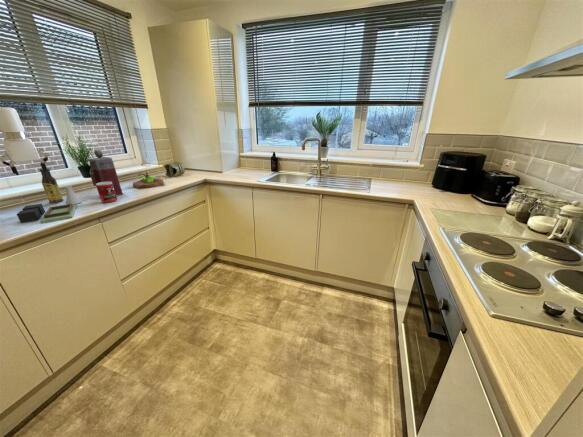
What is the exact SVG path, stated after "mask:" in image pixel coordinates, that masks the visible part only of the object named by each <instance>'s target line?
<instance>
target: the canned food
mask: <svg viewBox="0 0 583 437" xmlns="http://www.w3.org/2000/svg"><path fill="white" fill-rule="evenodd" d="M95 187H96V189H97V192H98V195H99V199H100V201H101V202H102V204H110V203H115V202H117V201H118V197H117V196H116V193H115V190H114V187H113V184H112V182H110V181H107V182H100V183H97V184H96V186H95Z"/></svg>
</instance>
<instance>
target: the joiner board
mask: <svg viewBox="0 0 583 437" xmlns="http://www.w3.org/2000/svg"><path fill="white" fill-rule="evenodd" d="M77 207H78V205H77V204H68V205H67V204H61V205H54V206H50V207H49V208H48V209H47V210H46V211H45V213H44V214H43V217H41V219H40V223H41V224H45V223H51V222H57V221H62V220H69V219H73V217H74V215H75V212H76V211H77Z"/></svg>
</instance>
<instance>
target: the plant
mask: <svg viewBox="0 0 583 437" xmlns="http://www.w3.org/2000/svg"><path fill="white" fill-rule="evenodd" d="M141 175H142V177H141V178H140V176H141ZM137 176H138V177H139V180H137V181H135V182H133V183H132V187H133V188H135V189H139V190H141V189H152V188H156V187H161V186H164V185H165V183H164V179H163V178H156V177H155V176H154V175H150V176H149V170H148V169H146V170H145V174H144V173H138V175H137Z"/></svg>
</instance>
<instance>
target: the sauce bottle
mask: <svg viewBox="0 0 583 437" xmlns="http://www.w3.org/2000/svg"><path fill="white" fill-rule="evenodd" d="M38 170H39V172H40V174H41V176H42V177H41V184H42V188H43V190H44V193H45V195H46V198H47V201H48V202H49V203H51V204H55V203H56V204H57V203H61V202H63V201H64V199H63V196H62V192H61V190H60V187H59V185H58V182H57V180H56V178H55V177H54V176H52V173H51V170H50V167H47V170H46V172H44V171H43V170H42V167H40V168H38Z"/></svg>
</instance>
